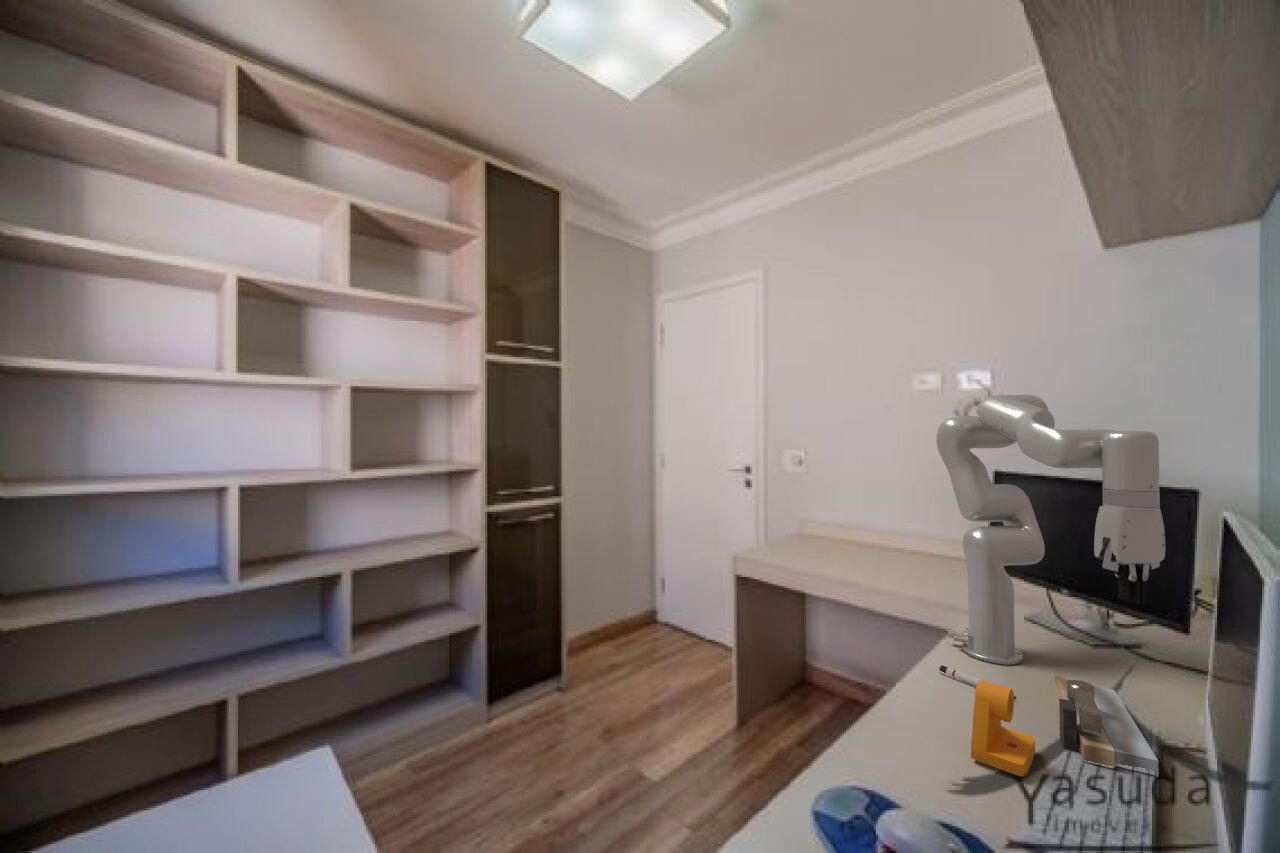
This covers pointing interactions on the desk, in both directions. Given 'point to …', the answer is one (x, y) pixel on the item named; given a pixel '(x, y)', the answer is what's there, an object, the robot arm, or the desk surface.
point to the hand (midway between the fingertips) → (1131, 601)
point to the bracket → (999, 731)
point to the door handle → (1085, 706)
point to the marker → (961, 676)
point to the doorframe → (1104, 731)
